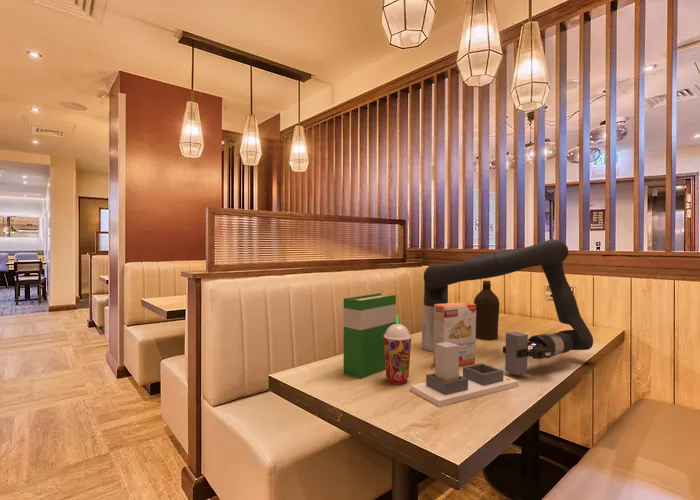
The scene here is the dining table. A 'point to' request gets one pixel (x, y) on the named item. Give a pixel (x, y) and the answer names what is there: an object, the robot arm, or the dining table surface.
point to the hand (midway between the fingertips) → (510, 352)
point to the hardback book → (366, 333)
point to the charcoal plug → (512, 345)
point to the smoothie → (397, 353)
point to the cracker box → (456, 328)
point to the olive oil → (487, 313)
